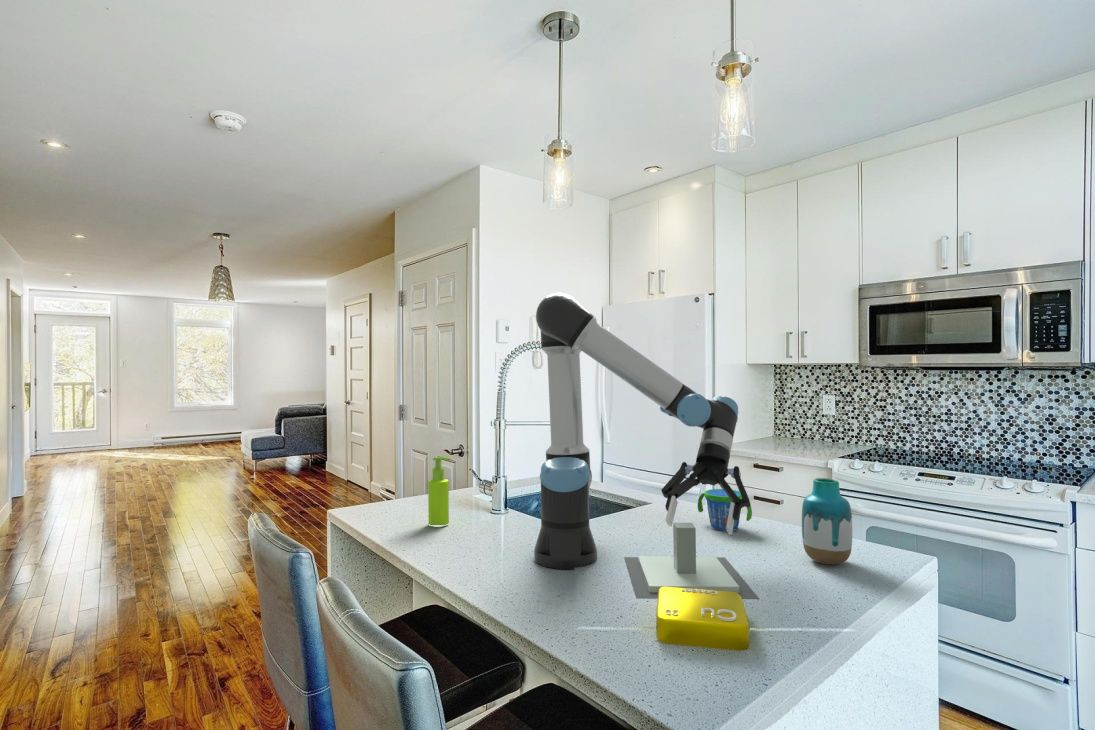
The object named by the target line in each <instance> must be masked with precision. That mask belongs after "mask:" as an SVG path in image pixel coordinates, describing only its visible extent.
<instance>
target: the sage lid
mask: <svg viewBox="0 0 1095 730" xmlns="http://www.w3.org/2000/svg"><path fill="white" fill-rule="evenodd" d="M672 526H673V528H672V530H673V531H672V532H673V535H672V536H673V537H672V538H673V556H669V555H666V556H663V555H662V556H660V555H659V556H655V555H654V556H653V555H652V556H649V555H648V556H647V555H646V556H641V555H640V556H639V555H638V556H637V557H638V563H639V565H640V568H641V571H642V574H643V576H644V579H645V582H646V585H647V587H648V590H649V592H658V591H659V589H660V588H662V587H678V588H691V589H704V590H717V591H729V592H736V593H739V586H738V584H737V583H736V582H735V581H734V579H733V578H732V577H731V575H730V574H729V573H728V572H727V570H726V569H725V568H724V567H723V565H722V564H721V563H720V562H719V560H718V559H717V558H716V557H717V556H697V555H696V554H697V552H696V551H697V541H696V540H697V538H696V537H697V536H696V533H697V532H696V530H697V528H696V526H695V525H694V524H693V522H673V523H672Z"/></svg>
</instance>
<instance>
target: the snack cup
mask: <svg viewBox="0 0 1095 730" xmlns="http://www.w3.org/2000/svg"><path fill="white" fill-rule="evenodd" d="M732 490H733V491H734V492H735V494H736V495H737V496H738V498H740V499H742V496H741V494H740V492H739V490H736V489H732ZM704 498H705V500H706V505H707V506H706V507H707V511H708V518H709V524H710V527H711V529H714V530H717V531H725V532H727V529H726V526H727V520H728V515H729V509H730V504H731V502H732V501H731V499H730V498H729V496H728V495H727V494H726V492H725V491H724V490H723V489H722V488H713V489H708V490H705V491H704V492H703V493H701V494H700V495H699V497H698V500H697V511H698V512H699V513H702V512H704V507H703V499H704ZM746 510H747V511H746V521H747V522H749V521H751V519H752V517H753V516H752V515H753V509H752V506H750V507H746ZM739 524H740V519H739V520H734V526H733V531H735V530H738V528H739V526H740V525H739Z"/></svg>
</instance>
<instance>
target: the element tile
mask: <svg viewBox="0 0 1095 730" xmlns="http://www.w3.org/2000/svg"><path fill="white" fill-rule="evenodd" d="M743 600H744V599H742V597H741V596H740V595H739V594H738V593H736V592H729V591H717V590H704V589H691V588H678V587H662V588H660V589H659V591H658V598H657V602H656V603H657V604H656V613H655V614H656V616H655V617H656V618H655V622H656V623H655V626H656V627H655V628H656V639H657V640H658V641H659V642H661V643H662V644H663V643H664V644H668V645H675V646H676V645H678V646H687V647H688V646H689V647H695V648H696V647H697V648H707V649H718V650H719V649H720V650H727V651H738V652H739V651H741V652H742V651H747V650H748V649H749V648H750V621H749V619H748V614H747V611H746V608H745V605H744V601H743Z"/></svg>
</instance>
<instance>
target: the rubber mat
mask: <svg viewBox="0 0 1095 730" xmlns="http://www.w3.org/2000/svg"><path fill="white" fill-rule="evenodd" d="M715 557H716V558H717V559H718V560H719V562H720V563H721V564H722V565H723V567H724V568H725V569H726V570H727V572H728V573H729V574H730V575H731V577H732V578H733V579H734V581H735V582H736V583H737V584H738V586H739V593H738V594H739V595H740V596H741V597H742V600H760V598H759V597H758V595H757V594H756V593H755V591H754V590H753V589H752V588H751V586H749V584H748V583H747V582H746V581H745V580H744V578H743V577H742V576H741V575H740V574H739V572H738V571H737V570H736V569H735V568H734V566H733V565H732V564H731V563H730V561H729V560H728V559H727V558H726V556H725V557H723V556H721V557H718V556H715ZM623 559H624V563H625V565H626V566H625V567H626V569H627V571H628V572H627V573H628V575H629V580H630V583H631V586H632V588H633V589H632V590H633V593H634V596H635V598H636V599H658V592H649V590H648V587H647V585H646V582H645V579H644V576H643V574H642V571H641V568H640V565H639V563H638V556H624V557H623Z"/></svg>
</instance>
